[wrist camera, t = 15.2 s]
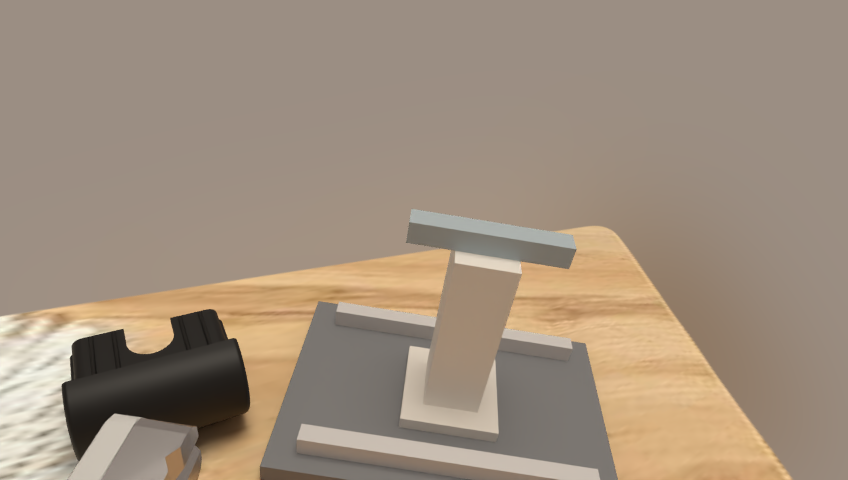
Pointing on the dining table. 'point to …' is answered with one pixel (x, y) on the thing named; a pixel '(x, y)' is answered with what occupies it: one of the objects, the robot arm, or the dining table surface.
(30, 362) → the dining table surface
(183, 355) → the black rounded block
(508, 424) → the plate
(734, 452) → the dining table surface
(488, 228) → the stand
